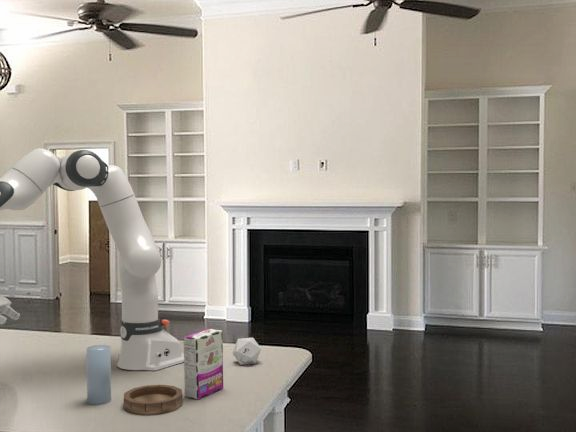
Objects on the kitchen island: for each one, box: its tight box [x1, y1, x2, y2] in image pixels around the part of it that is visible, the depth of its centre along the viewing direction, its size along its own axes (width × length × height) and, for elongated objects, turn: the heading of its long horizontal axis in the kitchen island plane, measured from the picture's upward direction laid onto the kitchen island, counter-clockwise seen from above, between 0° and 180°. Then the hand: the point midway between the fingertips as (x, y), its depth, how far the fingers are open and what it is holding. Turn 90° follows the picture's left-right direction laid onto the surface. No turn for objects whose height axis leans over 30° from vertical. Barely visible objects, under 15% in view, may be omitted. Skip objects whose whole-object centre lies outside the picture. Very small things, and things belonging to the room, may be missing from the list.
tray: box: [123, 384, 184, 416], centre depth 162 cm, size 15×15×3 cm
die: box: [232, 337, 262, 366], centre depth 201 cm, size 8×9×10 cm
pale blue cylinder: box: [86, 344, 112, 406], centre depth 165 cm, size 6×6×14 cm
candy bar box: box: [183, 328, 224, 400], centre depth 171 cm, size 11×5×16 cm, turn 148°
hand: (11, 319), depth 164 cm, fingers open, 8 cm apart
